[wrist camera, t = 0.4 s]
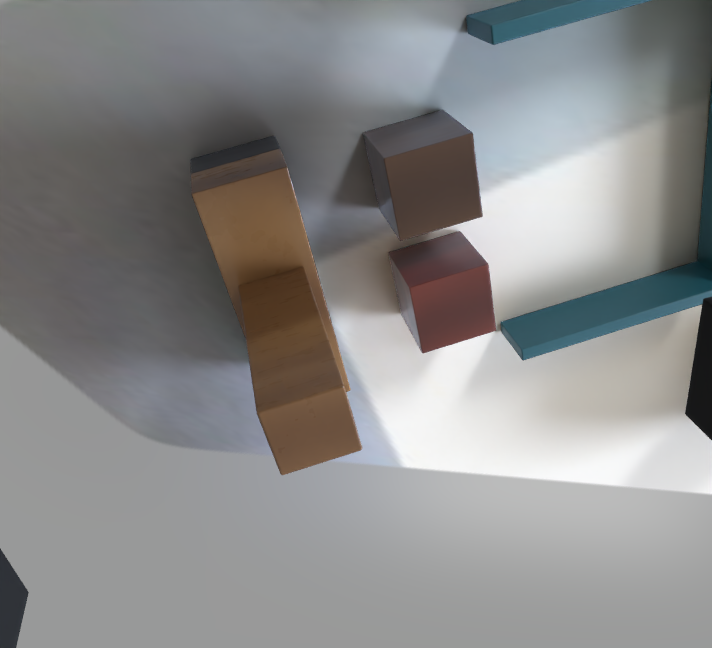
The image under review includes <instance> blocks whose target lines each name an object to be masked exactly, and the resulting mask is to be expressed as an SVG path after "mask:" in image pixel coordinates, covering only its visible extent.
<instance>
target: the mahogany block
mask: <svg viewBox="0 0 712 648" xmlns="http://www.w3.org/2000/svg"><path fill="white" fill-rule="evenodd" d="M388 254H389V259H390V264H391V268H392V273H393V278H394V283H395V287H396V292H397V297H398V302H399V306H400V311H401V315H402V317H403V319H404V320H405V322H406V324H407V326H408V328H409V330H410V332H411V333H412V335H413V337H414V339H415V341H416V343H417V345H418V346H419V348H420V350H421V352H422V353H426V352H429V351H432V350H435V349H439V348H442V347H445V346H448V345H452V344H455V343H458V342H461V341H464V340H468V339H471V338H474V337H477V336H481V335H484V334H487V333H490V332H493V331H496V325H495V316H494V308H493V299H492V291H491V283H490V274H489V266H488V263H487V262H486V261H485V260H484V259H483V257H482V256H481V255H480V254H479V253H478V252H477V250H476V249H475V248H474V247H473V246H472V245H471V243H470V242H469V241H468V240H467V239H466V238H465V236H464V235H463V234H462V233H461V232H460V231H459V232H455V233H452V234H449V235H445V236H442V237H439V238H435V239H432V240H428V241H425V242H422V243H418V244H415V245H412V246H408V247H405V248H402V249H398V250H395V251H392V252H389V253H388Z"/></svg>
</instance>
